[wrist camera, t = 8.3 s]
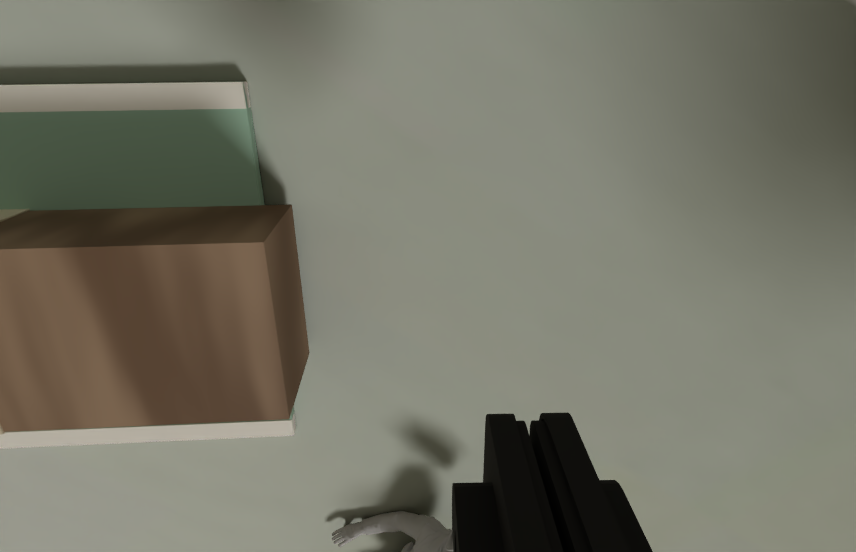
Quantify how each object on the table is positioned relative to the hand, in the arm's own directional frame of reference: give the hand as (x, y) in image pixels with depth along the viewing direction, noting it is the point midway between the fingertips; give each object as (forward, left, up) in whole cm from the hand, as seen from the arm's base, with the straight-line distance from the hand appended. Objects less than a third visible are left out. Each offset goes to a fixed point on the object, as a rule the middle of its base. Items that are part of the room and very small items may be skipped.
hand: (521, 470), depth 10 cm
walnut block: (+6, 0, -7) cm, 10 cm away
